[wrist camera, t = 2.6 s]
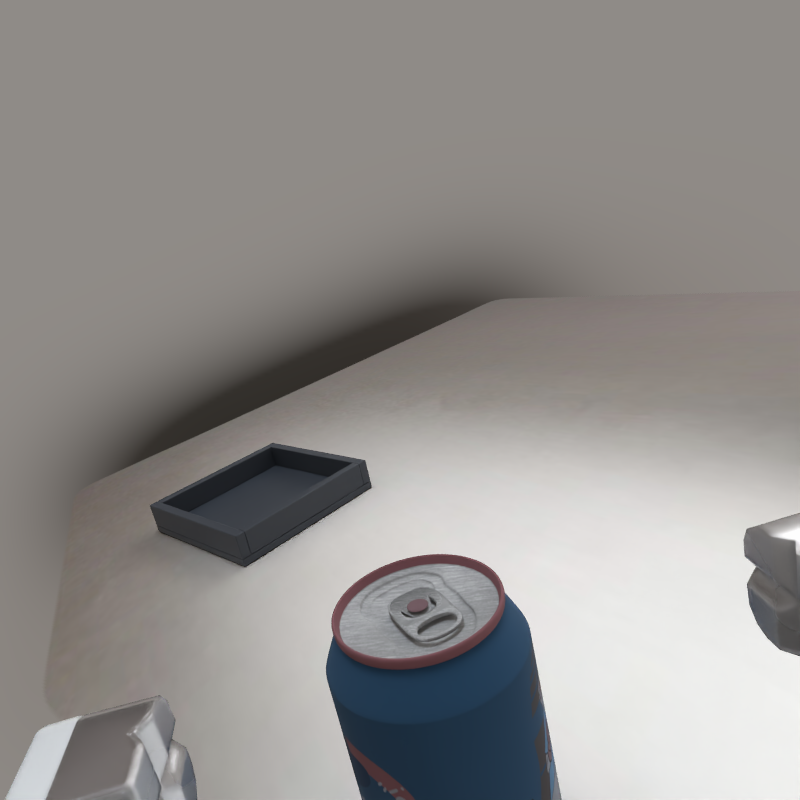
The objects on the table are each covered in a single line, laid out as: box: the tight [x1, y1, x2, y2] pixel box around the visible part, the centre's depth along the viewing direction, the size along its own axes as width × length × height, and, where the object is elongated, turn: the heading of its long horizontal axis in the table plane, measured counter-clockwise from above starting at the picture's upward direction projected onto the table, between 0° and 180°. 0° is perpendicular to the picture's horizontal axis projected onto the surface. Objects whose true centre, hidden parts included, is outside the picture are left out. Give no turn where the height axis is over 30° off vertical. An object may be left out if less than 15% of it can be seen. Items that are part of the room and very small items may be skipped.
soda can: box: [326, 554, 562, 800], centre depth 25 cm, size 7×7×12 cm
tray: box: [150, 443, 371, 566], centre depth 62 cm, size 14×14×3 cm
